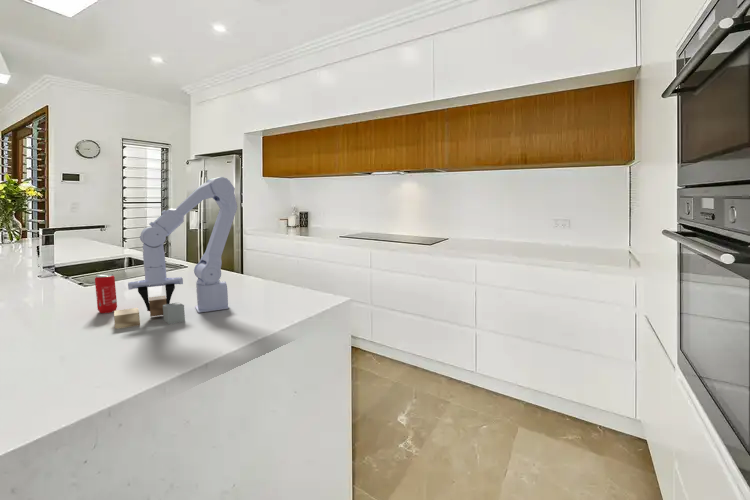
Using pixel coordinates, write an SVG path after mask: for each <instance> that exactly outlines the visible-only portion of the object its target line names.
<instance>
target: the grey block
mask: <svg viewBox="0 0 750 500" xmlns="http://www.w3.org/2000/svg"><path fill="white" fill-rule="evenodd" d="M162 316H163V321H164V322H165V323H166V324H168V325H172V324H176V323H182V322H185V321H186V317H185V316H186V314H185V304H183V303H180V302H174V303H170V304H166V305H163V315H162Z"/></svg>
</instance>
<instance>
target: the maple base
mask: <svg viewBox="0 0 750 500" xmlns="http://www.w3.org/2000/svg"><path fill="white" fill-rule="evenodd" d="M113 318H114V329H115V330H117V329H124V328H129V327H130V328H131V327H138V326H140V325H141V319H140V310H139V307H133V308H126V309H125V308H124V309H116V311H114V312H113Z"/></svg>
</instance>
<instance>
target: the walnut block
mask: <svg viewBox="0 0 750 500" xmlns="http://www.w3.org/2000/svg"><path fill="white" fill-rule="evenodd" d="M148 299H149V305H150V311H149V314H150V315H149V317H151V318H152V317H158V316H163V305H166V295H160V296H150V297H149V296H148Z"/></svg>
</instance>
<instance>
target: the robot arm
mask: <svg viewBox="0 0 750 500" xmlns="http://www.w3.org/2000/svg"><path fill="white" fill-rule="evenodd" d="M235 189H236V188H235V187H234V185H233V183H232V182H231V180H230V179H228V178H226V177H224V176H219V177H212V178H209V179H207V180H206V181H205V182H203V183H202V184H200V185H199V186H198V187H197V188H195V189H194V191H193V192H191V193H190V194H189V195H188V196H187V197H186V198H184V200H183V201H182V202H181V203H180V204H179V205H178V206H177V207H176V208H168V209H166V210H165V209H163V210H162V211H161V215H160V216H158V218H157V219H156V220H154V221H153V222H152V221H150V223H148V224H149V226H148V227H145V228H143V229H142V230H141V232H140V235H139V238H140V241H141V242H142V259H143V260H142V261H143V269H144V279H141V280H135V281H128V282H127V287H128V291H130V290H134V289H137V292H138V294H139V295H140V297H141V298H142V299H143V302H144V305H145V307H146V310H147V312H150V305H149V288H153V287H155V288H156V287H161V286H165V288H164V289H165V296H166V304H171V303H170V302H171V300H172V295H173V293H174V291H175V288H176V286H175V285H183V284H184V279H183V278H184V277H183V276H181V277H180V276H179V277H178V276H177V277H167V266H166V255H165V254H166V253H165V249H164V248H165V247H164V243H165V242H166V239H167V238H166V237H169V236H170V235H171V234H172V233H173V232H175V230H176V229H178V228H179V227H180V226H181V225H182V224H184V219H185V215H187V214H188V213H189V212H190V211H192V210H193V209H194V208H195V207H197V206H198V205H199V204H200V203H202V202H203V201H204V200H207V199H213V200H214V201H215V203H216V204H217V206H218V208H219V209H218V210H219V211H218V214H217V215H216V219H215V223H214V225H213V228H212V230H211V234H210V237H209V239H208V243H207V245H206V249H205V252H204V253H203V254H202V256H201V258H200V260H199V262H198V263H196V265H195V267H194V269H193V271H194V275H195V277H196V278H197V280H196V281H195V285H196V287H195V288H196V301H197V302H196V303H197V305H195V306H194V307H195V309H196V312H197V313H200V314H201V313H205V312H206V313H207V312H214V311H221V310H222V311H223V310H228V309H229V295H228V293H229V292H228V284H227V282H226V281H224V280H223V281H220V279H221V278H222V270H221V268H222V265H223V264H222V263H223V262H222V256H223V255H222V254H223V252H224V250H225V246H226V243H227V240H228V238H229V237H228V236H229V235H230V231H231V228H232V226H233V225H232V224H233V221H234V220H235V216H236V213H237V211H238V203H237V200H236V199H237V198H236V195H235V193H236V191H235Z"/></svg>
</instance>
